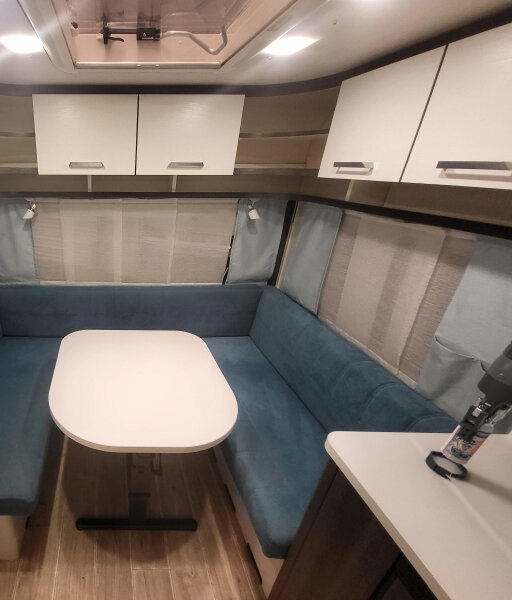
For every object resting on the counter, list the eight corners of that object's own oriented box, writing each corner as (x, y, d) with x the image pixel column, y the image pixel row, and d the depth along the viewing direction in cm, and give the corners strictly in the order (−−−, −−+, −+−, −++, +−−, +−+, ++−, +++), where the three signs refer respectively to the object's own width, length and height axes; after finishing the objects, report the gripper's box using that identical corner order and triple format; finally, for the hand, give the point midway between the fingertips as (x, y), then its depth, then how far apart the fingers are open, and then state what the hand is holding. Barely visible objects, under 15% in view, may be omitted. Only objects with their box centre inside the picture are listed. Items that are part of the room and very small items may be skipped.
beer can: (439, 456, 75) (466, 420, 70) (438, 445, 78) (464, 409, 73) (467, 469, 72) (498, 433, 67) (465, 456, 75) (494, 421, 70)
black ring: (448, 459, 80) (452, 453, 79) (470, 484, 74) (475, 478, 73) (418, 454, 81) (422, 448, 80) (438, 478, 75) (443, 472, 74)
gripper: (523, 397, 59) (473, 457, 67) (557, 383, 64) (507, 441, 71) (471, 373, 66) (431, 430, 73) (506, 362, 70) (465, 417, 78)
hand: (469, 435), depth 72 cm, fingers closed on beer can, 4 cm apart
